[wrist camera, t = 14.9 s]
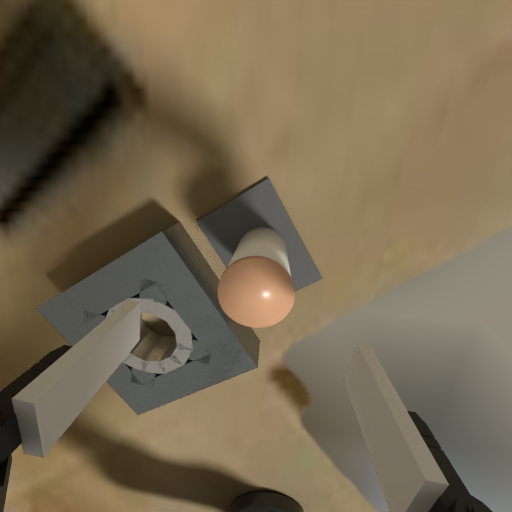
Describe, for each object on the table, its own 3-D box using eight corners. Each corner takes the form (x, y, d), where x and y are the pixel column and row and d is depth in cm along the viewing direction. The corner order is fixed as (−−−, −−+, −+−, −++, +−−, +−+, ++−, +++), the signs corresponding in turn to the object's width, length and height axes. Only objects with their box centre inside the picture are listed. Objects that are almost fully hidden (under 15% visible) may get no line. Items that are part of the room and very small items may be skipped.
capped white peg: (296, 260, 30) (308, 309, 19) (253, 281, 31) (242, 338, 21) (272, 217, 28) (270, 244, 18) (228, 241, 29) (202, 280, 19)
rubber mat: (321, 277, 30) (322, 278, 30) (254, 308, 33) (254, 310, 32) (268, 178, 27) (268, 178, 27) (197, 220, 29) (196, 221, 29)
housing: (259, 340, 34) (257, 367, 30) (154, 385, 39) (137, 415, 34) (179, 221, 29) (161, 231, 25) (69, 289, 34) (36, 308, 29)
